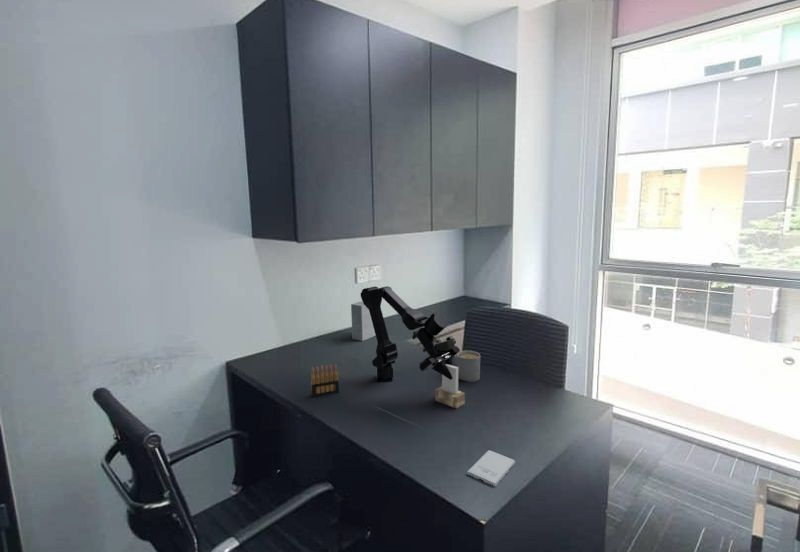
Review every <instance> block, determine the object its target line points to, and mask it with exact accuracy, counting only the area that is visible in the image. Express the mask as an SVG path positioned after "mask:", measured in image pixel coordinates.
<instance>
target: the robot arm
mask: <svg viewBox="0 0 800 552" xmlns="http://www.w3.org/2000/svg"><path fill="white" fill-rule="evenodd" d="M360 298H361V301H363V304H364V305H365V306H366V307H367V308H368V309H369V312H370V316H371V319H372V323H373V327H374V331H375V334H376V336H375V337H376V341H377V345H376V350H375V353H376V354H375V355H376V356H375V357H374V358H373V359H372V360H371V363H372V366H373V367H374V368H375V371H376V374H375V379H376V381H377V382H379V383H381V382H393V379H394V368H393V364H395V363H396V361H397V358H398V357H399V354H398V353H399V350H398V349H397V344H396V342H392V341H391V340H390V337H389V334H388V330H387V326H386V322H385V319H384V315H383V312H382V307H381V305H382V301H383V300H384V301H385V302H386V303H387V304H388V305H389V306H390V307H391V308H392V309H393V310H394V311H395V312H396V313H397V314H398V315H399V316H400V317H401V320H402V323H403V324H404V326H405V328H407V329H408V330H409V331H413V332H412V340H415V339H418V341H419V343H420V344H421V346H422V347H423V349H422V352H423V353H426V354H427V355H428V357H426V358H424V360H423V361H421V362H420V363H419V366H418V368H419V369H420V372H422V373H423V372H426V371H427V370H428V368H429V367H430V366H432V367H431V369H430V370H431V371H435V372H437V373H438V374H440V375H441V376H442V375H444V376H445V377H447V378H448V379H450V380H451V379H453V378H452V375H451V374H450V372H449V370H448V369H447V367H446V365H445V364H449V365H452V366H454V365H453V358H455V356H456V354H457V353H458V352H460V351H461V350H460V348H459V346H458V345H456V344H457V341H456V339H455V338H454V336H452V335H451V336H447V337H446V339H445V340H444V341H442V340H441V339H440V338H438V339H437V338H436V336H438V335H439V334H441V332H442V331H444V330H445V329H446V328H447V327H448V322H447V319H446V318H445V317H444V316H443V315H440V314H438V313H437V312H434V313H431V315H430V316H429V317H428V316H426V315H424V314H423V313H422V312H421V311H419V310H418V309H415V308H412V307H411V306H409V305H408V304H407V303H406V302H405V301H404V300H403V299H402V298H401V297H400V296H399V295H398V294H397V293H396V292H394V290H393V289H392V286H383V287H378V286H369V287H365V288H363V289H362V290H361V292H360ZM417 329H418V330H417ZM414 330H416V331H414Z"/></svg>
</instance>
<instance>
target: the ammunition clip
mask: <svg viewBox="0 0 800 552" xmlns="http://www.w3.org/2000/svg"><path fill="white" fill-rule="evenodd" d="M310 371H311V372H310V373H311V375H310V397H311V398H317V397H322V396H323V397H324V396H328V395H334V394H339V393H340V385H339V372H338V365H337V362H334V366H333V364H332V363H330V365H329V367H328V364H325V366H324V365H322V364H321V366H320V368H319V365H316V368H314V366H312V367H311V370H310Z"/></svg>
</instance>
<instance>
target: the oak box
mask: <svg viewBox="0 0 800 552" xmlns="http://www.w3.org/2000/svg"><path fill="white" fill-rule="evenodd" d="M465 396H466V393H465V392H463V391H461V390H458V394H457V395H454V394H451V393H448V392H445V391H442V386H440V387H438V388H436V389H434V401H436V402H438V403H441V404H442V405H445V406H449V407H452V408H454V409H458V408H460V407H462V406H463V405H465V403H466V402H465V401H466V397H465Z"/></svg>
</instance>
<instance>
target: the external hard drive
mask: <svg viewBox="0 0 800 552" xmlns="http://www.w3.org/2000/svg"><path fill="white" fill-rule="evenodd" d="M515 464H516V461H515V460H514V459H513V458H510V457H507V456H505V455H503V454H501V453H498V452H495V451H493V450H489V449H488V450H487V451H485V453H484V454H483V455H482V456H481V457H480V458H479V459H478V460H477V461H476V462H475V463H474V464H473V465H472V466H471V467H470V469H468V470H467V472H466V474H467V475H468V476H470V475H471V476H470V477H472V476H473V477H472V478H474V479H477V480H480V479H481V480H480V481H482V480H483V481H484V483H486V484H488V485H490V484H491V485H490V486H492V485H493V487H494V486H495V487H497V485H498V484H499V483H500V482H501V481H502V480H503V478H505V476H506V475H507V474H508V472H509V471H510V470H511V469H512V468H513V467H514V465H515ZM512 466H513V467H512ZM511 467H512V468H511ZM510 468H511V469H510ZM509 469H510V470H509ZM506 473H507V474H506ZM505 474H506V475H505ZM500 480H501V481H500ZM483 481H482V482H483Z"/></svg>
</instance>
